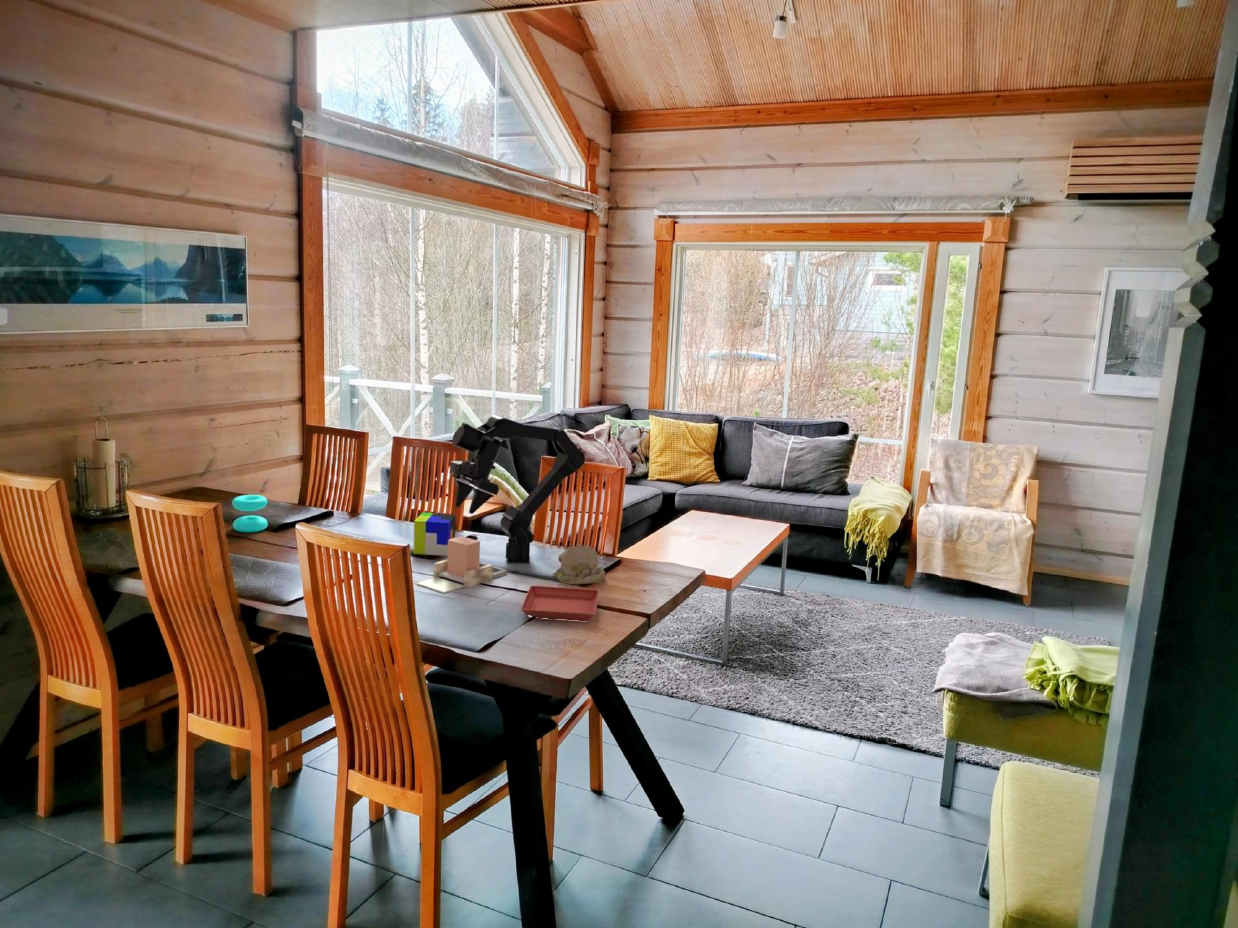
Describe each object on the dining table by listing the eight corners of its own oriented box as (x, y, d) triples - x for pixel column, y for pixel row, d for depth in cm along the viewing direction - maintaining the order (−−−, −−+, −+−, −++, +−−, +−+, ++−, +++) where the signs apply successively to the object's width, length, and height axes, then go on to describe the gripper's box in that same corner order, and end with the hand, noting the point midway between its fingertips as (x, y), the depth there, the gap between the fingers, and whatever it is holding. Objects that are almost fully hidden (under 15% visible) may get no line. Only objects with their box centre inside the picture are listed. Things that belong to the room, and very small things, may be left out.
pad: (436, 578, 235) (436, 576, 235) (463, 586, 230) (463, 585, 230) (417, 584, 230) (417, 583, 230) (444, 593, 224) (444, 591, 224)
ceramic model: (556, 585, 236) (558, 549, 234) (550, 572, 247) (552, 538, 245) (607, 584, 239) (609, 549, 238) (599, 571, 250) (601, 537, 248)
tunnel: (459, 569, 244) (460, 555, 243) (492, 578, 238) (492, 564, 237) (433, 577, 236) (433, 563, 235) (466, 587, 229) (466, 573, 229)
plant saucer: (529, 596, 227) (530, 584, 226) (599, 600, 227) (599, 588, 226) (519, 622, 209) (520, 608, 209) (594, 627, 209) (595, 613, 208)
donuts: (254, 492, 276) (274, 497, 270) (255, 522, 278) (274, 528, 272) (225, 497, 267) (245, 503, 262) (226, 528, 269) (245, 535, 264)
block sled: (462, 567, 243) (463, 534, 241) (486, 575, 238) (487, 540, 236) (439, 575, 235) (439, 540, 234) (463, 583, 231) (464, 547, 229)
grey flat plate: (475, 564, 249) (475, 560, 249) (507, 573, 243) (507, 570, 243) (460, 568, 244) (460, 565, 244) (492, 578, 238) (492, 575, 238)
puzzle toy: (447, 556, 256) (448, 523, 254) (413, 553, 256) (414, 520, 254) (454, 546, 266) (455, 514, 264) (422, 544, 266) (422, 512, 264)
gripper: (447, 443, 247) (425, 494, 246) (475, 453, 232) (452, 507, 231) (480, 457, 253) (459, 506, 252) (509, 467, 238) (487, 520, 237)
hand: (463, 510), depth 243 cm, fingers open, 9 cm apart
